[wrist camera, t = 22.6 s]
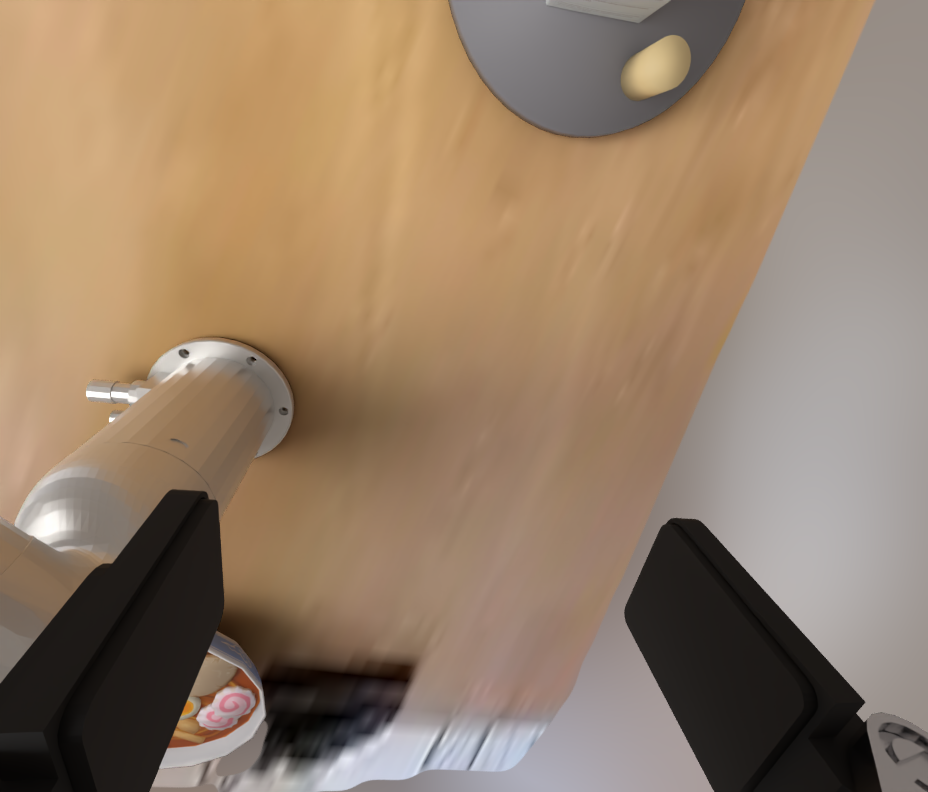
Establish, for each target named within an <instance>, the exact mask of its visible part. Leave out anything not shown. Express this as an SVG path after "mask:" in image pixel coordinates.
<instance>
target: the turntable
mask: <svg viewBox="0 0 928 792" xmlns="http://www.w3.org/2000/svg"><path fill="white" fill-rule="evenodd" d="M744 2H745V0H671V1H669V2H668V3H666V4H665V5H664V6H662V7H661V8H659V9H658V10H657V11H655V12H654V13H652V14H651V15H650V16H648V17H647V18H645V19H644V20H643V21H641V22H640V23H635V22H630V21H625V20H620V19H614V18H609V17H604V16H598V15H593V14H588V13H583V12H577V11H572V10H567V9H562V8H558V7H553V6H548V5H546V0H449V5H450V10H451V14H452V17H453V20H454V23H455V26H456V29H457V32H458V35H459V38H460V40H461V42H462V45H463V47H464V49H465V51H466V54H467V56H468V58H469V60H470V62H471V63H472V65H473V67H474V68H475V70H476V72H477V73H478V75H479V77H480V78H481V79H482V81H483V82H484V83H485V85H486V86H487V87H488V88H489V90H490V91H491V92H492V94H493V95H494V96H495V97H496V98H497V99H498V100H499V101H500V102H501V103H502V104H503V105H504V106H505V107H506V108H507V109H509V110H510V111H511V112H513V113H514V114H515V115H517V116H518V117H519V118H521V119H522V120H524V121H526V122H527V123H529V124H531V125H533V126H535V127H537V128H539V129H542V130H544V131H547V132H550V133H553V134H556V135H562V136H568V137H582V138H590V137H598V136H605V135H610V134H613V133H617V132H620V131H624V130H627V129H630V128H633V127H635V126H638V125H640V124H642V123H644V122H646V121H649V120H651V119H652V118H654V117H655V116H657V115H659V114H660V113H662V112H663V111H665V110H667V109H668V108H669V107H670V106H672V105H673V104H674V103H675V102H676V101H678V100H679V99H680V98H681V97H683V96H684V95H685V94H686V93H687V92H688V91H689V90H690V89H691V88H692V87H693V85H694V84H695V83H696V82H697V81H698V80H699V79H700V78H701V77H702V75H703V74H704V73H705V72H706V70H707V69H708V68H709V66H710V65H711V64H712V63H713V61H714V60H715V58H716V57H717V55H718V53H719V52H720V50H721V49H722V47H723V46H724V44H725V43H726V41H727V39H728V37H729V35H730V33H731V31H732V29H733V27H734V25H735V23H736V21H737V19H738V17H739V14H740V12H741V10H742V7H743V5H744Z"/></svg>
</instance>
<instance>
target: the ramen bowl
mask: <svg viewBox="0 0 928 792" xmlns="http://www.w3.org/2000/svg"><path fill="white" fill-rule="evenodd" d="M265 717H266V710H265V702H264V694H263V688H262V683H261V678H260V676H259V674H258V671H257V669H256V667H255V665H254V664H253V662H252V661H251V659H250V658H249V657H248V656H247V654H246V653H245V652H244V651H243V649H242V648H241V647H240V646H239V644H238V643H237V642H236V641H235V640H233V639H231V638H229V637H227V636H225V635H223V634H222V633H220V632H218V631H216V633H215V635H214V638H213V640H212V643H211V645H210V647H209V650H208V652H207V655H206V657H205V659H204V662H203V664H202V667H201V669H200V671H199V674H198V676H197V679H196V681H195V683H194V686H193V688H192V691H191V693H190V695H189V698H188V700H187V703H186V705H185V707H184V710H183V712H182V715H181V717H180V719H179V722H178V724H177V726H176V729H175V731H174V734H173V736H172V738H171V741H170V743H169V746H168V748H167V750H166V753H165V755H164V758H163V760H162V762H161V765H160V767H159V769H166V768H178V767H189V766H195V765H198V764H201V763H204V762H208V761H211V760H214V759H217V758H221V757H224V756H227V755H229V754H230V753H232V752H233V751H235V750H236V749H238V748H239V747H240V746H242V745H243V744H245V743H246V742H248V741H249V740H251V739H252V738H253V737H254V735H255V734H256V732H257V730H258V729H259V727H260V725H261V724H262V722H263V720H264V719H265Z"/></svg>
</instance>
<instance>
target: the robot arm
mask: <svg viewBox="0 0 928 792" xmlns="http://www.w3.org/2000/svg"><path fill="white" fill-rule="evenodd" d="M186 350H187V351H189V353H188V352H187V351H186ZM252 357H254V358H255V359H256V360H253V359H252ZM86 395H87V398H88V400H89V401H92V402H101V403H112V404H116V403H124V404H129V405H130V407H129V408H127V409H126V410H125V411H121V410H114V411H112V413H111V414H110V417H109V422H110V423H109V424H107V425H106V426H105V427H104V428H102V429H101V430H100V431H99V432H97V433H96V434H95V435H94V436H92V437H91V438H90V439H89V440H87V441H86V442H85V443H84V444H82V445H81V446H80V447H79V448H77V449H76V450H75V451H74V452H72V453H71V454H70V455H68V456H67V457H65V458H64V459H63V460H62V461H60V462H59V463H58V464H57V465H55V466H54V467H53V468H52V469H50V470H49V471H48V472H47V473H46V474H45V475H44V476H43V477H42V478H41V479H40V480H39V481H38V483H37V484H36V485H35V486H34V488H33V489H32V490H31V492H30V493H29V495H28V496H27V498H26V499H25V501H24V503H23V505H22V507H21V509H20V511H19V513H18V515H17V517H16V520H15V523H14V525H12V524H11V523H9V522H8V521H6V520H5V519H3V518H2V517H0V792H149V791H150V789H151V786H152V784H153V782H154V779H155V777H156V774H157V772H158V770H159V767H160V765H161V762H162V760H163V758H164V755H165V753H166V750H167V748H168V746H169V743H170V741H171V738H172V736H173V734H174V731H175V729H176V726H177V724H178V722H179V719H180V717H181V715H182V712H183V710H184V707H185V705H186V703H187V700H188V698H189V695H190V693H191V691H192V688H193V686H194V683H195V681H196V679H197V676H198V674H199V671H200V669H201V667H202V664H203V662H204V659H205V657H206V655H207V652H208V650H209V647H210V645H211V643H212V640H213V638H214V635H215V633H216V631H217V628H218V626H219V623H220V621H221V618H222V614H223V609H224V588H223V572H222V556H221V539H220V523H219V521H220V520H221V518H222V516H223V514H224V512H225V510H226V509H227V507H228V505H229V503H230V501H231V500H232V498H233V496H234V494H235V492H236V490H237V489H238V487H239V485H240V483H241V481H242V479H243V478H244V476H245V474H246V472H247V470H248V468H249V467H250V465H251V463H252V461H253V459H255V458H258V457H260V456H262V455H264V454H266V453H268V452H270V451H271V450H272V449H274V448H275V447H276V446H277V445H278V444H279V443H280V442H281V441H282V439H283V438H284V437H285V436H286V434H287V432H288V430H289V428H290V426H291V422H292V419H293V416H294V399H293V393H292V391H291V388H290V385H289V383H288V381H287V379H286V378H285V376H284V374H283V373H282V371H281V370H280V369H279V368H278V367H277V366H276V365H275V363H274V362H273V361H271V360H270V359H269V358H268V357H266V356H265V355H264V354H263V353H261V352H259V351H258V350H256V349H254V348H252V347H251V346H249V345H246V344H243V343H241V342H238V341H235V340H230V339H225V338H214V337H205V338H198V339H192V340H189V341H186V342H183V343H180V344H178V345H177V346H175V347H173V348H172V349H170V350H169V351H167V352H166V353H165V354H163V355H162V356H161V357H160V358H159V359H158V360H157V361H156V363H155V364H154V365H153V366H152V368H151V370H150V373H149V375H148V377H147V381H145V380H135V381H134V382H133V383H132V384H130V383H120V382H118V381H108V380H97V379H93V380H91V381H90V382H89V384H88V385H87V389H86ZM283 407H285V408H287V409H284V408H283ZM624 613H625V620H626V623H627V625H628V627H629V629H630V631H631V633H632V635H633V637H634V639H635V641H636V643H637V645H638V647H639V649H640V651H641V652H642V654H643V656H644V658H645V660H646V662H647V664H648V666H649V668H650V670H651V672H652V673H653V675H654V677H655V679H656V681H657V683H658V685H659V687H660V689H661V691H662V693H663V695H664V696H665V698H666V700H667V702H668V704H669V706H670V708H671V710H672V712H673V714H674V716H675V718H676V720H677V721H678V723H679V725H680V727H681V729H682V731H683V733H684V735H685V737H686V739H687V740H688V743H689V744H690V746H691V748H692V750H693V752H694V754H695V756H696V758H697V760H698V762H699V764H700V766H701V767H702V769H703V771H704V773H705V775H706V777H707V779H708V781H709V783H710V785H711V787H712V789H713V790H714V792H928V733H927V732H925V731H924V730H922V729H921V728H919V727H918V726H916V725H914V724H913V723H911V722H909V721H907V720H904V719H902V718H900V717H897V716H895V715H891V714H887V713H882V712H881V713H875V714H871V716H870V717H869V718H868V719H867V720H866V721H865V722H863V721H862V720H861V718H860V717H859V716H858V715H857V714H856V713H857V712H858V710H859V709H860V708H861V707H862V705H863V704H864V703H865V701H864V700H863V699H862V698H861V697H860V695H859V694H858V693H857V692H856V691H855V690H854V689H853V688H852V687H851V686H850V685H849V683H848V682H847V681H846V680H845V679H844V678H843V677H842V676H841V675H840V673H839V672H838V671H837V670H836V669H835V668H834V667H833V666H832V665H831V664H830V663H829V661H828V660H827V659H826V658H825V657H824V656H823V655H822V654H821V653H820V652H819V651H818V649H817V648H816V647H815V646H814V645H813V644H812V643H811V642H810V640H809V639H808V638H807V637H806V636H805V635H804V634H803V633H802V632H801V631H800V629H799V628H798V627H797V626H796V625H795V624H794V623H793V622H792V621H791V620H790V619H789V617H788V616H787V615H786V614H785V613H784V612H783V611H782V610H781V609H780V608H779V606H778V605H777V604H776V603H775V602H774V601H773V600H772V599H771V598H770V596H769V595H768V594H767V593H766V592H765V591H764V590H763V589H762V588H761V587H760V585H759V584H758V583H757V582H756V581H755V580H754V579H753V578H752V577H751V576H750V575H749V573H748V572H747V571H746V570H745V569H744V568H743V567H742V566H741V565H740V563H739V562H738V561H737V560H736V559H735V558H734V557H733V556H732V555H731V554H730V552H729V551H728V550H727V549H726V548H725V547H724V546H723V545H722V544H721V543H720V541H719V540H718V539H717V538H716V537H715V536H714V535H713V534H712V533H711V532H710V530H709V529H708V528H707V527H706V526H705V525H704V524H703V523H702V522H701V521H699V520H696V519H681V518H673V519H670V520H669V521H668V522H667V523H666V524H665V525H663V526H662V527H661V529H660V531H659V533H658V535H657V537H656V539H655V542H654V544H653V546H652V548H651V551H650V553H649V555H648V557H647V560H646V562H645V564H644V566H643V568H642V571H641V573H640V575H639V577H638V580H637V582H636V584H635V586H634V588H633V591H632V593H631V595H630V597H629V600H628V602H627V604H626V607H625V612H624Z"/></svg>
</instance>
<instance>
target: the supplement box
mask: <svg viewBox="0 0 928 792" xmlns="http://www.w3.org/2000/svg"><path fill="white" fill-rule="evenodd" d="M669 1H671V0H546V5H548V6H553V7H558V8H562V9H567V10H572V11H577V12H583V13H588V14H593V15H598V16H604V17H609V18H614V19H620V20H625V21H630V22H635V23H640V22H641V21H643V20H644V19H645V18H647V17H648V16H650V15H651V14H652V13H654V12H655V11H657V10H658V9H659V8H661V7H662V6H664V5H665V4H666V3H668V2H669Z"/></svg>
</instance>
